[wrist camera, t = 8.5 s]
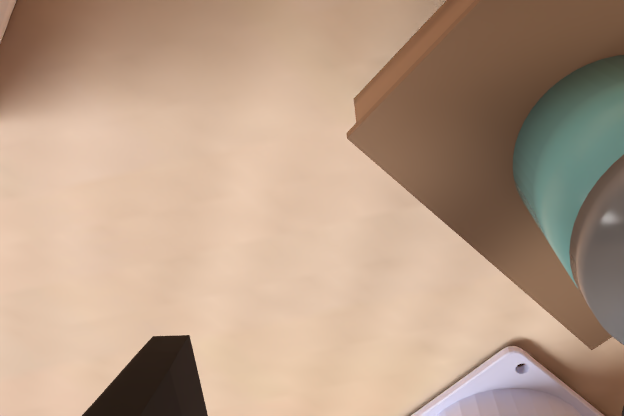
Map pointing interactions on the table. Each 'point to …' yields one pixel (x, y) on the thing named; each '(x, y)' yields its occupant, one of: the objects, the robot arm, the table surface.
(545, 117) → the cylinder
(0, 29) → the syrup box
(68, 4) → the table surface
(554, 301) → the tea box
